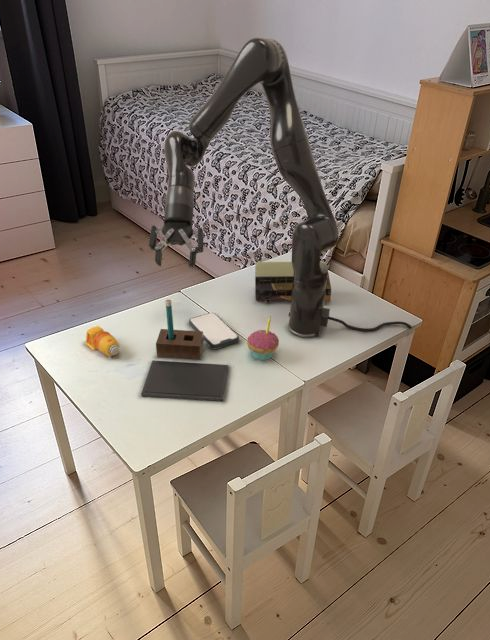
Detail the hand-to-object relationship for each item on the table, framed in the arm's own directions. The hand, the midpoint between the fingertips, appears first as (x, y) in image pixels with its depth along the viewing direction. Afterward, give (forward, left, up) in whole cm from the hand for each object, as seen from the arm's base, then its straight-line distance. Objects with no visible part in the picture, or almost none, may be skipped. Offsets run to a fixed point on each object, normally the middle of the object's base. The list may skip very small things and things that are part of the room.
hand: (174, 266), depth 143 cm
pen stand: (-4, +11, -19) cm, 23 cm away
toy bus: (-28, -26, -20) cm, 43 cm away
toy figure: (+16, +16, -20) cm, 30 cm away
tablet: (-10, +23, -19) cm, 32 cm away
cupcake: (-26, +7, -20) cm, 34 cm away
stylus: (-2, +11, -19) cm, 23 cm away
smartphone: (-10, 0, -20) cm, 22 cm away
